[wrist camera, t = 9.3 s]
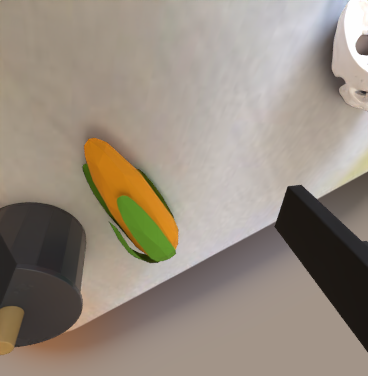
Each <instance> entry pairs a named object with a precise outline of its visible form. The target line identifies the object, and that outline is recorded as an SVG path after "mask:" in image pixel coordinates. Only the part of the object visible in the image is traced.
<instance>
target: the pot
mask: <svg viewBox="0 0 368 376" xmlns="http://www.w3.org/2000/svg"><path fill="white" fill-rule="evenodd" d="M0 234H1V236H2V238H3V239H4V241H5V243H6V245H7V247H8V249H9V250H10V252H11V254H12V256H13V258H14V259H15V261H16V263H21V264H29V265H34V266H39V267H43V268H46V269H50V270H52V271H55V272H57V273H59V274H61V275H63V276H65V277H66V278H68V279H69V280H71V281H72V282H73V283H74V284H75V285H76V286H77V288H78V289H79V291H81V282H82V274H83V265H84V257H85V249H86V236H85V232H84V229H83V227H82V226H81V224H80V223H79V222H78V220H77V219H75V218H74V217H73V216H72V215H71V214H69V213H67V212H66V211H64V210H62V209H59V208H57V207H54V206H51V205H47V204H41V203H19V204H13V205H9V206H6V207H3V208H1V209H0Z"/></svg>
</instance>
